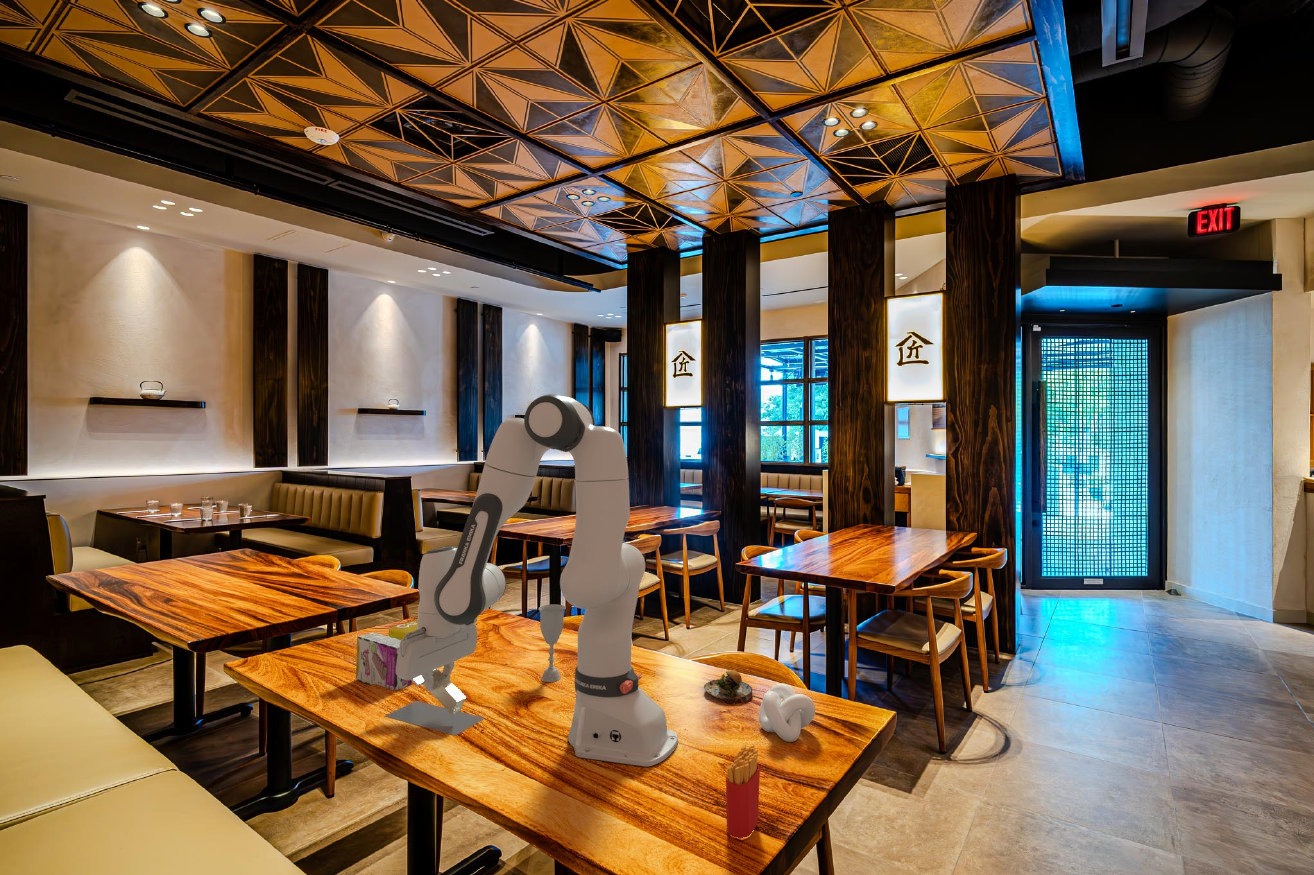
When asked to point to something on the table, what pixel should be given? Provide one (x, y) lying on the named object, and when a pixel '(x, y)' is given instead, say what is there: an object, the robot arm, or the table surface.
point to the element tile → (402, 629)
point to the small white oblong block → (444, 692)
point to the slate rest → (435, 718)
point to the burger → (730, 688)
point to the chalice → (551, 635)
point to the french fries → (743, 793)
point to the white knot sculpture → (785, 712)
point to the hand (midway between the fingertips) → (437, 686)
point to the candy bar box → (378, 661)
